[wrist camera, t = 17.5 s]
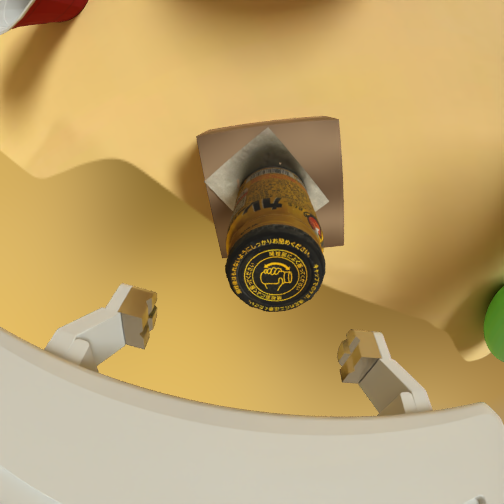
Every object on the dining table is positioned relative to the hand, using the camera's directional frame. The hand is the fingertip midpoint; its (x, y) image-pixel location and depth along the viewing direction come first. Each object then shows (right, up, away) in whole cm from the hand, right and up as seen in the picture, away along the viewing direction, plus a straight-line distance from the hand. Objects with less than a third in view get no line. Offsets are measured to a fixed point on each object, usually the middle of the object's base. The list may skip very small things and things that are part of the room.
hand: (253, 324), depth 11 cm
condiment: (+1, +8, +13) cm, 16 cm away
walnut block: (+2, +11, +18) cm, 22 cm away
